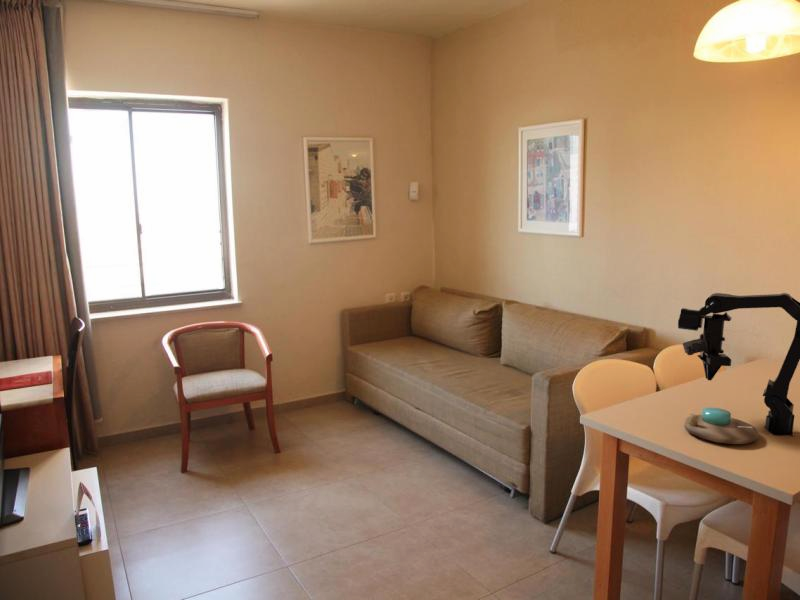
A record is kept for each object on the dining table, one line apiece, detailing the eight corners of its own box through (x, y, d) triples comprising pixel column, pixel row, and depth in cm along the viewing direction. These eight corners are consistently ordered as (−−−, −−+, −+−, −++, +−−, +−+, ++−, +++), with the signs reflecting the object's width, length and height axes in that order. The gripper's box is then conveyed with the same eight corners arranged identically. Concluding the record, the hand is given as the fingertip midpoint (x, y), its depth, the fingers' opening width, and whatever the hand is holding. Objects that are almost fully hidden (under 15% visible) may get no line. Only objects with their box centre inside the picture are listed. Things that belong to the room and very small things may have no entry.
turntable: (742, 420, 201) (743, 407, 200) (769, 446, 182) (770, 431, 181) (676, 417, 204) (677, 404, 203) (695, 441, 184) (697, 427, 184)
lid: (724, 417, 200) (725, 408, 200) (733, 426, 192) (734, 417, 192) (698, 415, 201) (698, 406, 201) (706, 424, 194) (707, 415, 193)
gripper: (678, 325, 212) (674, 370, 214) (695, 338, 193) (691, 387, 196) (713, 326, 210) (709, 371, 213) (734, 340, 192) (729, 389, 195)
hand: (708, 379), depth 204 cm, fingers closed
